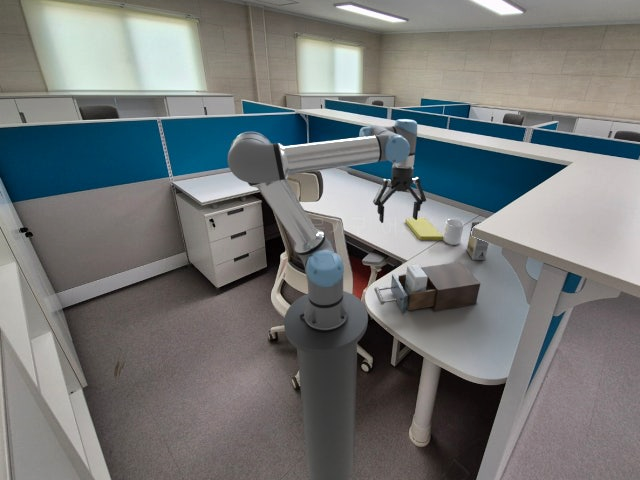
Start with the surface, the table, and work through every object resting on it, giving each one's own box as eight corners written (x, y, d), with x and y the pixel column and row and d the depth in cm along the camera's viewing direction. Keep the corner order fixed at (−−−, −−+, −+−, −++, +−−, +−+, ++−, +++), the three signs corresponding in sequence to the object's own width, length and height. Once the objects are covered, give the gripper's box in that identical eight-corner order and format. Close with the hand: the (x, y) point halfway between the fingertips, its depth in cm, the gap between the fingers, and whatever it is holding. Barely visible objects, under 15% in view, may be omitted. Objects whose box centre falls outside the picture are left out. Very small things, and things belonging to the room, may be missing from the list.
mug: (463, 245, 157) (466, 226, 152) (447, 246, 155) (450, 227, 150) (453, 234, 167) (456, 216, 163) (438, 235, 166) (441, 217, 161)
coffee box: (465, 250, 152) (471, 221, 146) (478, 250, 153) (484, 221, 146) (472, 260, 144) (479, 230, 137) (485, 260, 145) (492, 230, 138)
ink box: (424, 302, 113) (428, 276, 108) (412, 304, 111) (416, 278, 106) (415, 288, 120) (418, 263, 115) (403, 290, 119) (406, 265, 114)
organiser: (434, 311, 111) (437, 290, 107) (418, 286, 124) (421, 267, 120) (475, 303, 116) (480, 283, 112) (456, 280, 129) (460, 261, 125)
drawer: (382, 317, 106) (383, 299, 103) (371, 292, 118) (372, 276, 115) (443, 306, 113) (446, 289, 109) (428, 284, 124) (430, 268, 121)
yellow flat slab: (405, 222, 179) (421, 242, 158) (405, 219, 178) (422, 238, 157) (424, 220, 182) (442, 240, 161) (424, 217, 181) (443, 236, 160)
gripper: (430, 161, 112) (424, 213, 121) (366, 163, 106) (364, 218, 115) (439, 167, 106) (432, 221, 115) (371, 169, 99) (369, 227, 108)
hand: (398, 219), depth 115 cm, fingers open, 13 cm apart
